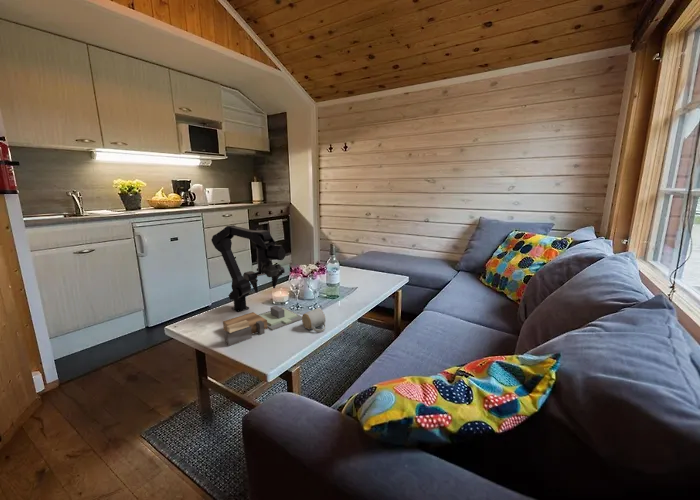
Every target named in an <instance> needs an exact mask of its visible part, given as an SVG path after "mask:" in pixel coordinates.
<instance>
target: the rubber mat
mask: <svg viewBox="0 0 700 500" xmlns="http://www.w3.org/2000/svg"><path fill="white" fill-rule="evenodd" d="M280 308H284V309H286V310H288V311H291V312H293V311H292V310H290V309H288V308H286V307H284V306H281V307H280ZM269 312H271V310H269V311H265V312H263V313H260V314H258V315H263V314H266V313H269ZM293 313H295V314H297V315H298V317H295V318H292V319H290V320H291V321H292V322H291V323H288V324H285V323H283V322H281V323H278V324H275V325H272V326H271V325H269V324H267V329H269V330H271V331H275V330H278V329H280V328H283V327H285V326H288V325H291V324H294V323H297V322H299V321H302V316H303V315H300V314H298V313H296V312H293Z"/></svg>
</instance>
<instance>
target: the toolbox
mask: <svg viewBox="0 0 700 500" xmlns="http://www.w3.org/2000/svg"><path fill="white" fill-rule="evenodd" d="M245 320H247V321H248V322H249V327H247V328H244V329H241V330H238V331H235V332H232V333H229V332H228V331H227V326H229V325H232V324H235V323H238V322H242V321H245ZM222 325H223V330H224V341H225V345H227V346H228V347H230V346H231V347H232V346H234V345H236V344H240V343H242V342H244V341H246V340H249V339H250V340H251V339H253V336H252V335H254V334H258V335H260V336H261V335H263V334H265V333H266V331H265V330H268V328H267V320H266V319H264V318H263V317H261V316H259V314H258V313H256V312H254V311H252V312H249V313H246V314H242V315H239V316H236V317H232V318H230V319H226V320H222Z"/></svg>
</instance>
